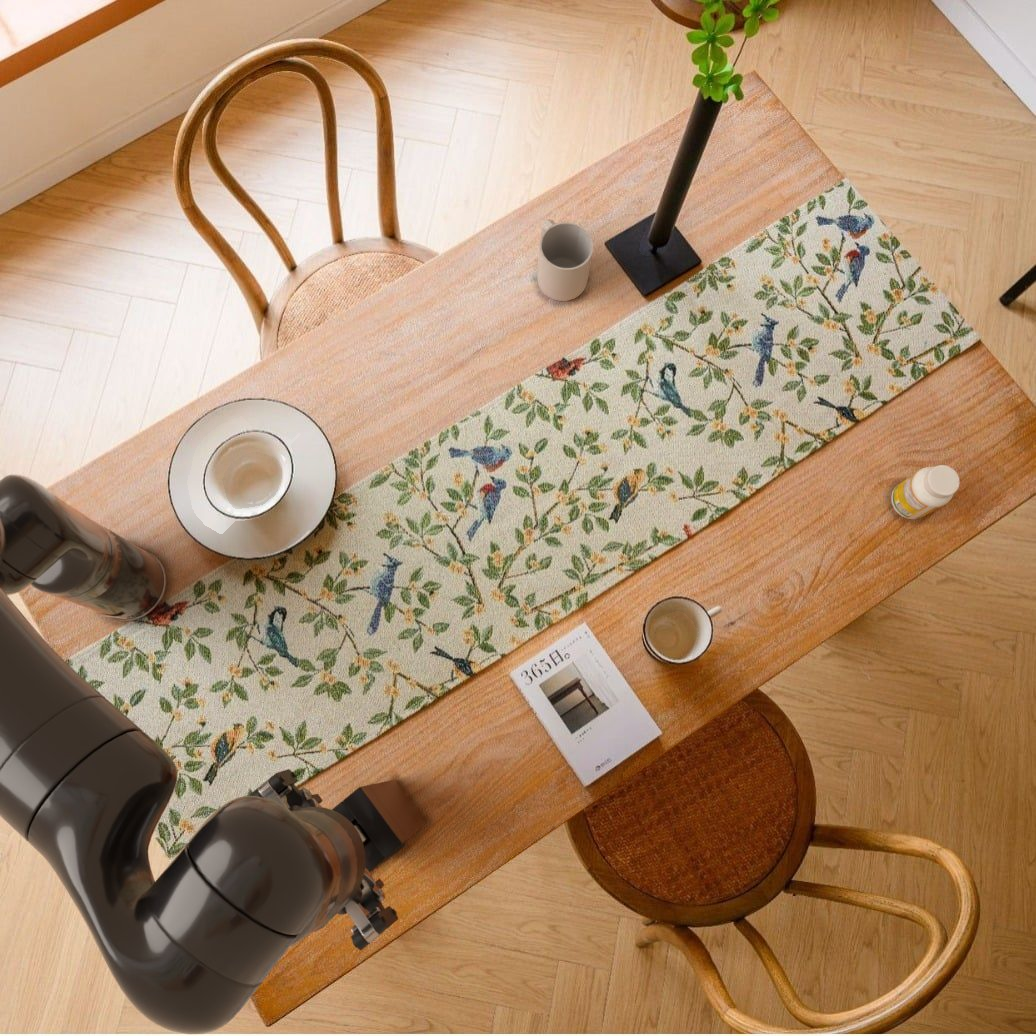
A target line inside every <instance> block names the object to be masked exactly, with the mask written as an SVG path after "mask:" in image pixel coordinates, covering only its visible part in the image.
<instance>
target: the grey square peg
mask: <svg viewBox="0 0 1036 1036" xmlns="http://www.w3.org/2000/svg"><path fill="white" fill-rule="evenodd" d="M354 827H355V828H356V829H357V831H358V833H359V835H360V837H361V839H362V842H363V843H364V842H365V841H367V840H368V839H369V836H368V835H367V834H366V832H365V831H364V830H363V828H362V827H361V826H360V824H357V825H355V826H354Z"/></svg>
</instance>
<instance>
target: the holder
mask: <svg viewBox="0 0 1036 1036" xmlns="http://www.w3.org/2000/svg"><path fill="white" fill-rule="evenodd" d="M331 810H334V811H336V812H338V813H340V814H341V815H343V816H344V817H346V818H347V819H348V820H349V821H350V822H351V823H352V824H353V825H354V826H355V825H357V824H360V826H361V827H362V828H363V830H364V831H365V832H366V834H367V835H368V836H369V839H368V840H367V841H365V842H364V843H363V845H364V849H365V857H366V863H365V868H367V869H368V870H369V871H370V872H371V871H373V870H374V869H376V868H377V867H378V866H379V865H378V864H379V863H381V862H382V861H383V860H384V859H385V858H386V857H388V856H389V855H390V854H391V853H392V852H394V851H395V850H396V849H397V848H398V847H399V846H401V845H402V844H403V843H404V842H405V841H406V842H407V841H408V840H409V839H410V838H411V837H412V836H413V835H414V834H416V832H418V831H419V830H420V829H421V828H422V827H423V826H425V824H426V823H428V820H427V818H426V817H425V816H424V815H423V814H422V812H421V811H420V809H419V808H418V807H417V805H416V804H415V803H414V802H413V800H412V799H411V798H410V796H409V795H408V794H407V793H406V791H405V790H404V788H403V787H402V786H401V785H400V784H399V782H398V780H397V779H391V780H387V781H386V780H385V781H381V782H376V783H372V784H366V785H362V786H359V787H358V788H356V789H355V790H353V791H352V792H351V793H350V794H349V795H348V796H346V797H345V798H344V799H343V800H342V801H340V802H339V803H338V804H337V805H336V806H334V807H333V808H332V809H331ZM406 842H405V843H406ZM381 864H382V863H381ZM377 865H378V866H377ZM376 866H377V867H376ZM375 867H376V868H375ZM373 868H374V869H373ZM372 869H373V870H372Z"/></svg>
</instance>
